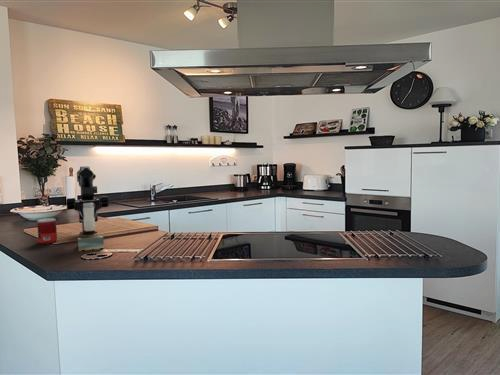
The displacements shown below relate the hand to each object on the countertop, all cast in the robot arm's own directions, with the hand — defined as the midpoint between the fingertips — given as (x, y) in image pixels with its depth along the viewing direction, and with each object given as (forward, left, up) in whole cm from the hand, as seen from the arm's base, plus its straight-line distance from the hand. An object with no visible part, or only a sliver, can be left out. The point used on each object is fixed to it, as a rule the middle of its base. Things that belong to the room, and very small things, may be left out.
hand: (88, 216), depth 176 cm
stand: (+6, -3, -13) cm, 15 cm away
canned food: (-21, -9, -13) cm, 26 cm away
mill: (-1, +1, -7) cm, 7 cm away
